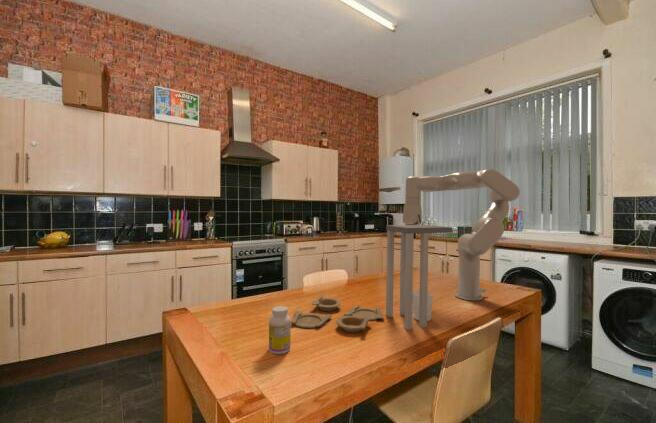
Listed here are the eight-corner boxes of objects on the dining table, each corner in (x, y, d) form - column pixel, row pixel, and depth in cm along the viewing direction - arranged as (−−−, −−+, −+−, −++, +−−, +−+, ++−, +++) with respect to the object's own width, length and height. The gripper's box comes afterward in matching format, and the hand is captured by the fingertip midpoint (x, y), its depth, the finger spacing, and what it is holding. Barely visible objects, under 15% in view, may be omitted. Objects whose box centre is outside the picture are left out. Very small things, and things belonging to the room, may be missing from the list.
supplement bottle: (269, 345, 95) (270, 305, 94) (290, 344, 95) (291, 304, 95) (267, 355, 88) (267, 312, 88) (290, 354, 88) (290, 312, 88)
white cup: (430, 315, 122) (431, 291, 122) (433, 322, 115) (434, 297, 114) (411, 313, 124) (411, 290, 124) (412, 320, 116) (413, 295, 116)
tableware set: (281, 325, 111) (281, 315, 111) (312, 302, 138) (312, 293, 138) (374, 341, 99) (375, 329, 99) (388, 312, 126) (388, 303, 126)
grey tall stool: (425, 310, 128) (427, 224, 127) (450, 323, 114) (452, 227, 113) (384, 315, 121) (386, 225, 121) (406, 330, 107) (407, 228, 107)
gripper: (398, 201, 155) (397, 236, 155) (416, 201, 141) (415, 239, 141) (410, 201, 157) (409, 236, 158) (428, 201, 143) (428, 239, 144)
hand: (412, 237), depth 149 cm, fingers closed
